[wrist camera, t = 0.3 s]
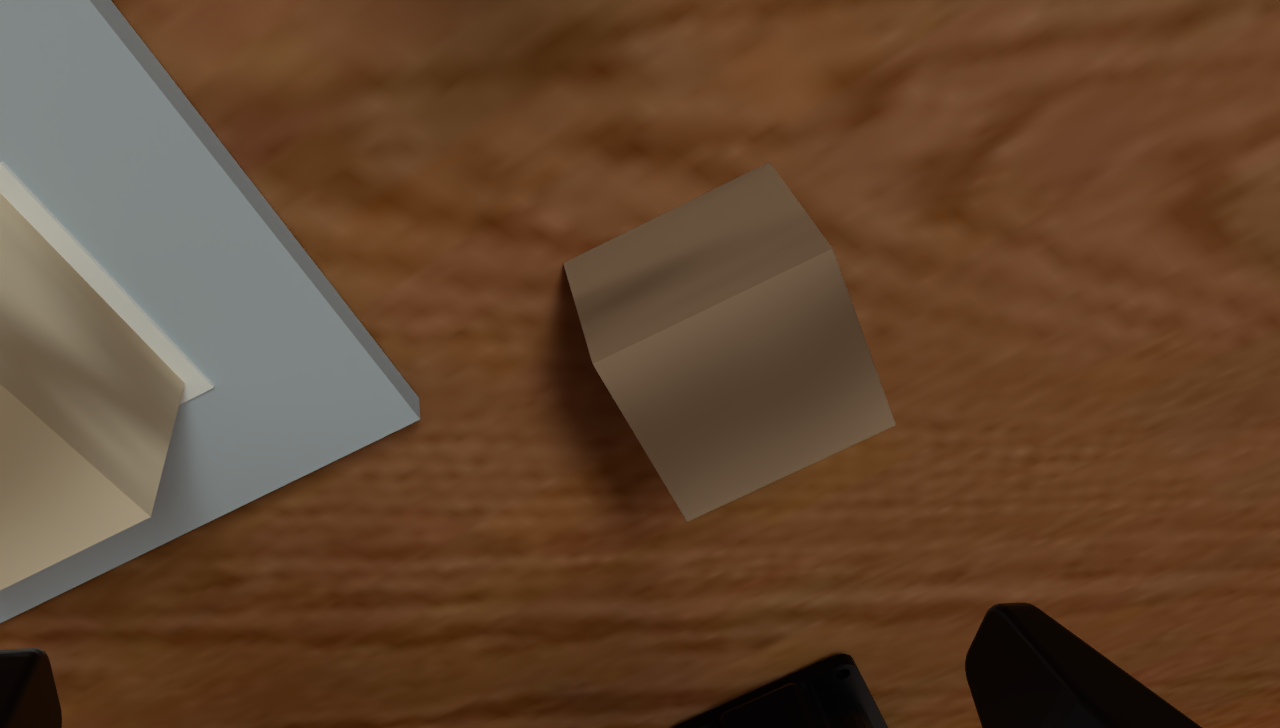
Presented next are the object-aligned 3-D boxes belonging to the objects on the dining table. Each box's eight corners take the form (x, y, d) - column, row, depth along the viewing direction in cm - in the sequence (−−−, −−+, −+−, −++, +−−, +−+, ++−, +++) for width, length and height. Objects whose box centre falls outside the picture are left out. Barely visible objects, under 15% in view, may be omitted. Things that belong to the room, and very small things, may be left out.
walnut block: (830, 324, 25) (895, 425, 22) (648, 410, 26) (687, 522, 22) (767, 159, 22) (832, 248, 19) (562, 260, 23) (592, 364, 19)
